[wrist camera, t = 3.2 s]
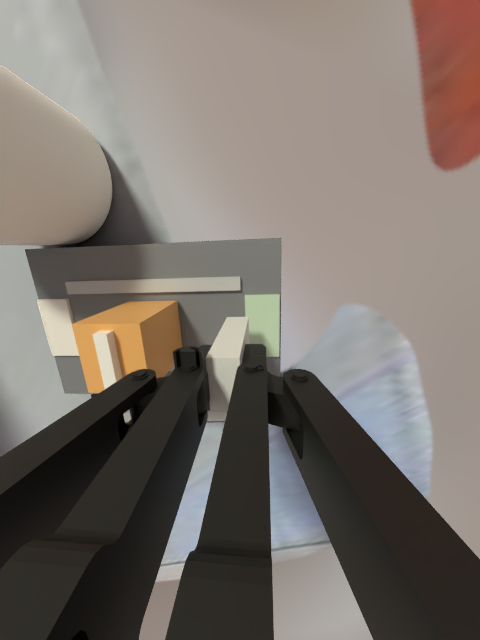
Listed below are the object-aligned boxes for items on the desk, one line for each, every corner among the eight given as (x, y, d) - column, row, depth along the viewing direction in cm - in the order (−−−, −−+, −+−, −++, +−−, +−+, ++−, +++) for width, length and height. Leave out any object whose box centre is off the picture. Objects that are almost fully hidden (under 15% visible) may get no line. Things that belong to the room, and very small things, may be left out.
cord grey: (105, 416, 27) (99, 422, 26) (102, 407, 27) (96, 412, 26) (229, 414, 25) (228, 420, 24) (228, 404, 25) (226, 410, 24)
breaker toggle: (137, 352, 21) (81, 398, 14) (128, 301, 19) (62, 327, 13) (183, 352, 20) (146, 400, 14) (177, 300, 19) (133, 326, 13)
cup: (94, 267, 22) (-34, 282, 13) (-6, 205, 21) (-223, 171, 12) (139, 158, 19) (15, 71, 10) (24, 83, 19) (-230, -92, 9)
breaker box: (87, 377, 26) (62, 395, 22) (56, 249, 22) (21, 249, 19) (278, 379, 24) (280, 400, 20) (278, 239, 20) (281, 237, 17)
